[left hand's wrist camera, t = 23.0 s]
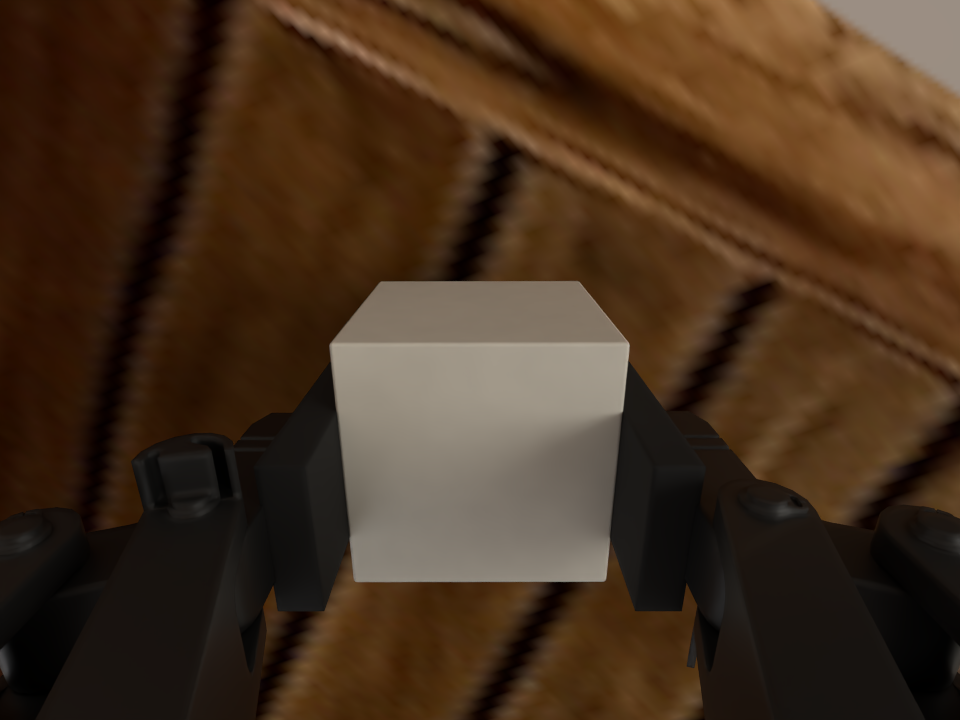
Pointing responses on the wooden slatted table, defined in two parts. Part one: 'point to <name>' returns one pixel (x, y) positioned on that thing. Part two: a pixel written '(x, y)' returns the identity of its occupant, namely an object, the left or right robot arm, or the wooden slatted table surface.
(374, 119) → the wooden slatted table surface
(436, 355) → the block
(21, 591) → the left robot arm
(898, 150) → the wooden slatted table surface
